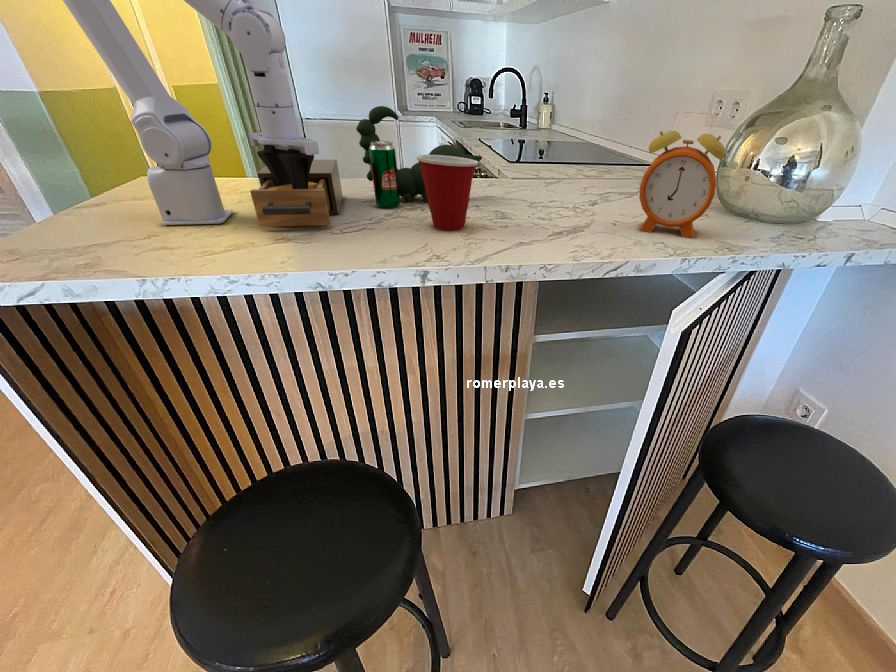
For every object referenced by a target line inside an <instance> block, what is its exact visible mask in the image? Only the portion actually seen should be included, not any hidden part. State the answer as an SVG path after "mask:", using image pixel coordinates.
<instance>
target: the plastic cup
mask: <svg viewBox="0 0 896 672" xmlns="http://www.w3.org/2000/svg"><path fill="white" fill-rule="evenodd" d="M415 157H416V161H418V162H419V164H420V169H421V172H422V176H423V180H424V185H425V189H426V194H427V199H428V200H427V203H428V208H429V211H430V215H431V221H432V224H433V227H434V228H435V229H436V230H438V231H439V230H440V231H446V232H455V231H461V230H463V229H464V228H465V224H466V220H467V213H468V209H469V203H470V196H471V189H472V183H473V178H474V174H475V171H476V169H477V166H478V165H479V162H480V161H479V162H478V161H476V160H472V159H468V158H462V157H454V156H444V155H429V154H417V155H415Z"/></svg>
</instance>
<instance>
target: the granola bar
mask: <svg viewBox="0 0 896 672" xmlns="http://www.w3.org/2000/svg"><path fill="white" fill-rule="evenodd" d="M317 186H318V184H317V183H313V182H309V183H308V189H316V188H317ZM268 189H293V188H292V185H291V184H287V185H282V186H277V187H272V188H268Z"/></svg>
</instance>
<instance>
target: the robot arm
mask: <svg viewBox="0 0 896 672" xmlns="http://www.w3.org/2000/svg"><path fill="white" fill-rule="evenodd" d="M62 1H63V3H64V5H65V6H66V8H67V9H68V11H69V13H70V14H71V15H72V16H73V18H74V19H75V21H76V23H77V24H78V26H79V27H80V28H81V30H82V31H83V33H84V34H85V36H86V37H87V38H88V40H89V41H90V43H91V44H92V46H93V47H94V49H95V50H96V53H98V55H99V57H100V58H101V59H102V62H104V64H105V65H106V67H107V69H108V70H109V71H110V73H111V75H112V76H113V77H114V79H115V81H116V82H117V84H118V85H119V87H121V89H122V91H123V92H124V93H125V95H126V97H127V98H128V100H129V101H130V102H131V104H132V106H133V109H132V114H131V119H130V122H131V124H132V125H133V128H134V129H135V130H136V132H137V134H138V136H139V140H140V144H141V146H142V147H141V148H143V151H144V152H145V154H146V155H147V156H148V157H149V158H150V159H151V160H152V161H153V162H155V163H156V164H157V166H156V165H155V166H154V165H153V166H150V167H149V168H148V169H147V171H146V172H147V173H146V174H147V182H148V186H149V188H150V191H151V194H152V196H153V198H154V201H155V204H156V206H157V208H158V211H159V213H160V216H161V219H162V221H161V224H162V225H164V226H171V225H173V226H174V225H175V226H179V225H215V224H216V225H217V224H218V225H219V224H223V223H224V222H225V221H227V219H229V217H230V216H231V215H232V214H233V213H234V210H233V209H225V207H224V203H223V200H222V198H221V194H220V191H219V188H218V185H217V182H216V178H215V175H214V172H213V169H212V166H211V160H210V155H211V152H212V149H213V143H212V138H211V137H210V134H209V133H208V131H207V130H206V128H205V127H203V125H202V124H200V123H199V122H198V121H197V120H196V119H195V118H194V117H193V116H192V114H191V113H190V111H189V109H188V108H187V107H185V106H184V105H183V104H182V103H180V102H179V101H178V100H176V99H175V98H173V97H172V96H171V94H169V92H168V91H167V89H166V87H165V85H164V84H163V82H162V81H161V79H160V78H159V76H158V75H157V73H156V72H155V71H156V70H154V68H153V67H152V65H151V63H150V62H149V60H148V58H147V57H146V55H145V53H144V52H143V50H142V49H141V46H139V44H138V42H137V41H136V39H135V38H134V36H133V34H132V33H131V31H130V30H129V28H128V27H127V24H125V22H124V20H123V18H122V17H121V15H120V14H119V12H118V10H117V9H116V7H115V5H114V3H113V2H112V1H111V0H62ZM183 1H184V2H185V3H186V4H187V5H188V6H190V7H191V8H192V9H194V10H195V11H196V12H197V13H199V14H200V15H201V16H202V17H204V18H205V19H206V20H208V21H209V22H210V23H211V24H212V25H214V26H215V27H217V28H218V30H220V31H222V32H223V33H224V34H225V35H227V36H228V37H229V39H230V41H231V43H232V45H233V46H234V48H236V50H237V51H238V53H240V54H241V56H242V59H243V63H244V67H245V72H246V75H247V76H246V77H247V80H248V83H249V87H250V91H251V95H252V99H253V104H254V108H255V113H256V115H257V121H258V124H259V127H260V131H261V132H260V131H259V132H248V138H249V141H250V145H251V147H263V149H262V150H257V151H256V154H257V157H259V159H260V160H261V161H262V162H263V164H264V165H265V166H267V168H268V169H269V171H270V172H271V174H272V176H273V178H274V179H275V181H276V183H277V185H278V186H282V185H287V184H291V185H292V188H293V189H308V183H309V173H310V168H311V165H312V162H313V160H315V155H319V154H320V150H319V144H318V141H317V140H314V139H310V138H306V137H304V136H301V135H300V130H299V125H298V120H297V116H296V115H297V114H296V111H295V105H294V100H293V96H292V92H291V91H292V90H291V87H290V81H289V76H288V72H287V68H286V63H285V59H284V54H283V53H284V51H285V49H286V45H287V44H286V43H287V41H286V34H285V32H284V29H283V27H282V26H281V24H280V23H279V21H278V20H277V19H275V17H274V15H272V13H271V12H268V11H266V10H262V9H255V6H254V3H255V2H254V0H183Z"/></svg>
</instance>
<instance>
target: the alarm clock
mask: <svg viewBox="0 0 896 672" xmlns="http://www.w3.org/2000/svg"><path fill="white" fill-rule="evenodd" d="M687 113H688V114H693V111H692V112H690V111H685V114H687ZM677 114H678V112H676V113H675V116H674V120H673V124H672V125H674V123H675V120H676V117H677ZM699 114H703V115H707V113H704V112H699ZM711 115H712V116H713V117H712V118H714V116H715V115H714V113H711ZM713 121H714V119H712V120H711V123H713ZM712 126H713V124H711V127H710V128H712ZM673 127H674V126H671V129H668V130H667V131H665V132H663V130H660V131H659V136H657V137H655V138H654V139H652V141H651V142H650V143H649V146H648V152H649V153H648V154H649V155H650V154H653V153H656V152H658V151H661V150H663V149H664V151H663V152H662V153H661V154H659V155H658V156H657V157H655V158H654V160H653V161H652V162H651V164H650V165H649V166H648V168H647V169H646V170H645V172H644V174H643V176H642V179H641V181H640V185H639V197H638V198H639V202H640V206H641V209H642V211H643V212H644V214H645V215H646V216H647V217H646V218H645V220H644V221H643V223H642V225H641V226H640V229H639V231H641V232H647V233H651V232H652V231H653V230H654V229H655V227H656V226H657V225H659V226H663V227H666V228H679V232H680V234H681V237H682V238H683V237H684V238H690V239H694V235H695V233H694V232H695V229H694V223H693V222H695V221H696V220H698V219H699V218H700V217H702V216H703V215H704V214H705V212H706V211H707V210H708V209H709V207H710V206H711V205H712V202H713V199H714V197H715V195H716V188H717V175H716V171H715V166H714V164H713V162H712V160H711V159H710V158H709V156H708V154H709V153H710V154H711V155H712V156H713V157H714V158H716V159H717V160H719V161H722V160H723V159H724V157H725V155H726V151H727V150H726V147H725V145H724V144H723V143H722V142H721V141H720V140H721V138H722V136H721V135H718V136H715V135H714V134H713V133H712V132H711V131H712V130H710V131H709V132H710V133H707V132H706V133H703V134H701V135H699V136H698V137H697V138H696V141H697V142H698V143H699V145H700V146H702V147H703V148H704V149H705V152H704V151H702V150H700V149H699V148H695V147H692V146H689V145H693V144H695V140H693V139H683V140H682V144H685V146H675V147H672V148H670V149H668V147H669V146H671V145H673V144H674V143H676V142H679V140H681V139H682V138H683V137H682V136H681V134H680V132H678V131H677V130H673Z"/></svg>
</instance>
